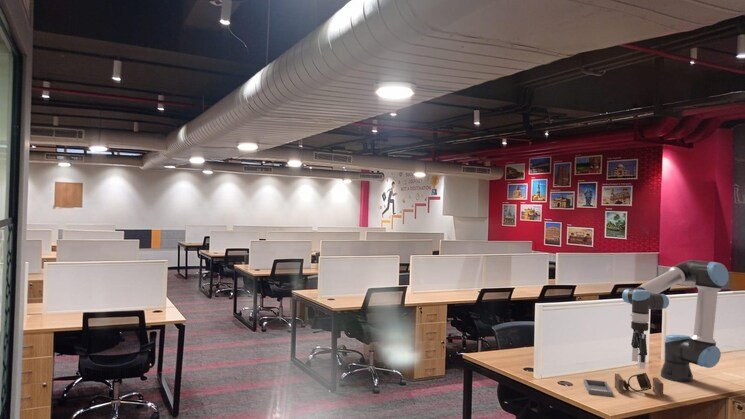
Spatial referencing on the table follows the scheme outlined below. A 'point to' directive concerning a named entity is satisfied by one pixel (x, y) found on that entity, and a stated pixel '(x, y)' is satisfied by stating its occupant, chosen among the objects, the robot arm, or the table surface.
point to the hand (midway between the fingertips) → (638, 364)
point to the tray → (598, 387)
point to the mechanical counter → (642, 381)
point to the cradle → (656, 385)
